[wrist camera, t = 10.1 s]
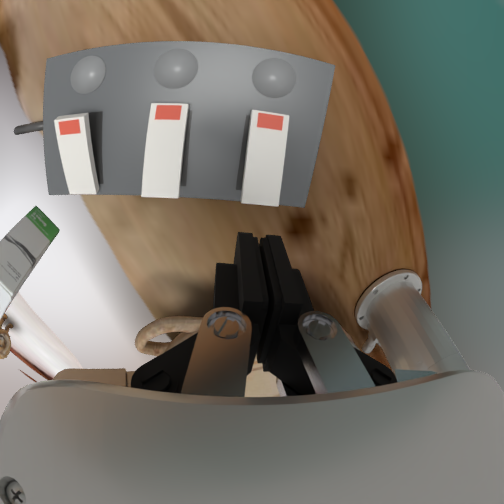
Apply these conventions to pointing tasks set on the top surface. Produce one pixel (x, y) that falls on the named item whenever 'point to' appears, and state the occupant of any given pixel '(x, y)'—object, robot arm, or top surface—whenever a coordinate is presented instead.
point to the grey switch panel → (199, 115)
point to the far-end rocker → (264, 158)
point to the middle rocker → (164, 150)
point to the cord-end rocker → (77, 153)
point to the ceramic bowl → (188, 326)
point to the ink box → (23, 253)
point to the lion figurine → (4, 338)
